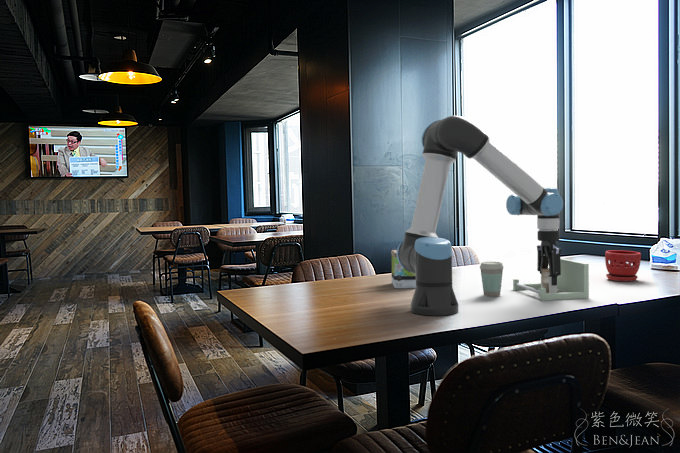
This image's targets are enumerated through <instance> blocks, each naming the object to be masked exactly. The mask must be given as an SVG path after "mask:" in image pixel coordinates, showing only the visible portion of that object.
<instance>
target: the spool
mask: <svg viewBox="0 0 680 453" xmlns="http://www.w3.org/2000/svg"><path fill="white" fill-rule="evenodd" d="M541 271H542V288H546V293H549V276H548V275H550V270H549V267H548V268H543V269H541Z"/></svg>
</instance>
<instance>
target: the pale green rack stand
mask: <svg viewBox="0 0 680 453" xmlns="http://www.w3.org/2000/svg"><path fill="white" fill-rule="evenodd" d="M560 262H561V275H559V276H557V291H561V292H557V293H546V288H541V282H535V283H533V282H532V283H520V279H519V278H513V279H512V285H513V286H512V289H513V290H514V291H519V290H520V291H521V290H523V291H524V290H525V291H529V292H532V293H535V294H538V295H539V300H540V301H553V300H575V299H578V300H579V299H590V291H589V290H590V287H589V286H590V283H589V282H590V280H589V278H590V276H589V275H590V274H589V272H590V271H589V270H590V267H589V265H590V264H589V263H588V262H587V263H586V262H582V261H577V260H572V259H568V258H563V257H560Z"/></svg>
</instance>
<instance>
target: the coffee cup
mask: <svg viewBox="0 0 680 453" xmlns="http://www.w3.org/2000/svg"><path fill="white" fill-rule="evenodd" d="M479 269H480V276H481V282H482V284H481V285H482V290H483V291H482V292H483V296H485V297H491V298H492V297H493V298H494V297H500V296H501V290H502V280H503V272H504V271H503V270H504V265H503V262H500V261H482V262H480V265H479Z"/></svg>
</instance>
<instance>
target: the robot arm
mask: <svg viewBox="0 0 680 453" xmlns="http://www.w3.org/2000/svg"><path fill="white" fill-rule="evenodd" d="M421 145H422V147H423V150H422V157H423V159H424V161H425V162H424V166H423V172H422V175H421V180H420V184H419V189H418V195H417V199H416V203H415V207H414V212H413V217H412V221H411V226H410V228H408V229H407V230H406V231H405V232H404V233H405V234H404V237H403V240H402V242H400V244H399V245H398V246H397V249H396V250H397V259H398V262H399V264H400V265H401V266H402V267H403V268H404V269H405V270H407V271H409V272H411V273H416V288H414V293H413V295H412V299H411V302H410V311H411V312H412V313H413V314H417V315H423V316H435V317H437V316H450V315H455V314H457V313H458V312H459V303H458V300H457V297H456V293H455V292H454V289H453V249H452V248H453V247H452V243H451V241H450V240H448V239H446V238H443V237H439V236H438V235H437V233H436V231H437V226H438V222H439V218H440V213H441V210H442V209H441V208H442V204H443V200H444V195H445V190H446V185H447V181H448V176H449V173H450V167H451V165H453V164H454V163H455V162H456V161H457V156H458V153H460V154H462V155H464V156H465V157H466V158H467V159H473V160H475V161H476V162H477V163H478V165H479V164H480V165H481V167H482V168H484V169H485V170H486V171H488V173H490V174H491V175H492V176H493V177H495V178H496V179H497V180H498V181H499V182H501V184H503V185H504V186H505V187H506V188H508V189H509V190H510V191H512V192H513V194H510V195H509V196H508V197H507V199H506V203H505V205H506V206H505V207H506V211H507V213H509V214H510V215H512V216H537V219H536V222H537V223H536V224H537V241H539V242H541V243H540V245H539V244H538V245H537V246H536V249H537V264H536V265H537V268H536V269H537V272H539V274H540V283H541V288H542V271H541V269H543V268H549V270H550V275H548V276H549V293H558V289H557V276H559V275H561V262H560V258H561V253H562V252H561V251H562V248H561V247H558V246H557V242H558V241H560V230H559V229H560V223H561V221H560V213H561V211H562V210H563V209H564V208H563V207H564V200H563V198H562V196H561V195H560V190H559V189H558V188H557V187H543V186H542V185H541V184H539V183H538V181H536V180H535V179H534V178H533V177H532V176H531V175H529V174H528V173H527V172H526V171H525V170H523V169H522V168H521V166H519V165H518V164H517V163H516V162H515V161H513V160H512V159H511V158H510V157H509V156H508V155H506V153H504V152H503V151H502V150H501V149H500V148H499V147H498V146H496V145H495V144H494V143H493V142H492V141H491V140H490V136H489V134H487V132H485V131H484V130H483V129H481V127H479V126H478V125H477V124H475V123H474V122H473V121H471V120H470V119H468V118H466V117H463V116H461V115H450V116H446V117H445V118H442V119H439V120H435V121H432V122H431V123H430V124H428V126H426V127H425V129H424V131H423V132H422V135H421Z"/></svg>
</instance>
